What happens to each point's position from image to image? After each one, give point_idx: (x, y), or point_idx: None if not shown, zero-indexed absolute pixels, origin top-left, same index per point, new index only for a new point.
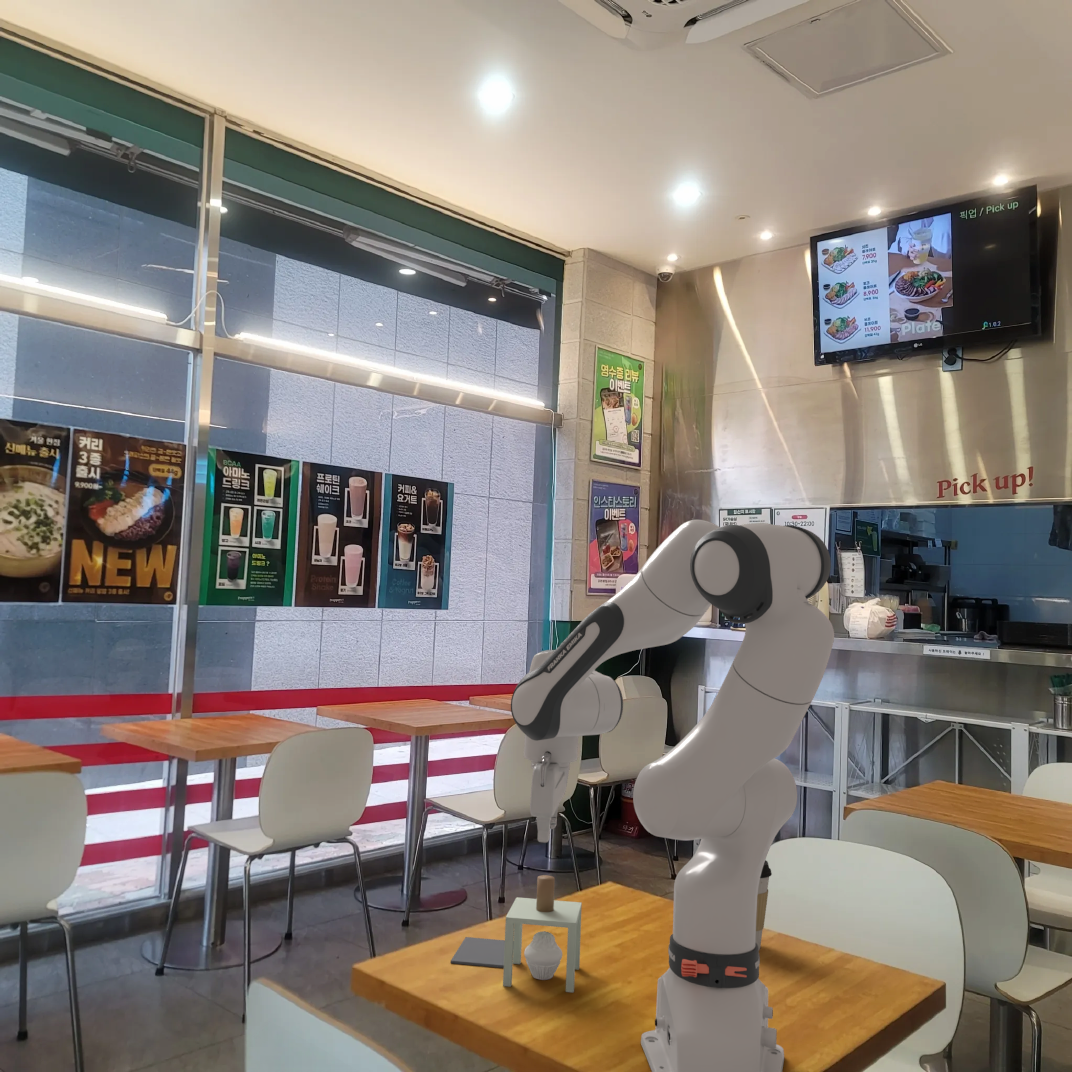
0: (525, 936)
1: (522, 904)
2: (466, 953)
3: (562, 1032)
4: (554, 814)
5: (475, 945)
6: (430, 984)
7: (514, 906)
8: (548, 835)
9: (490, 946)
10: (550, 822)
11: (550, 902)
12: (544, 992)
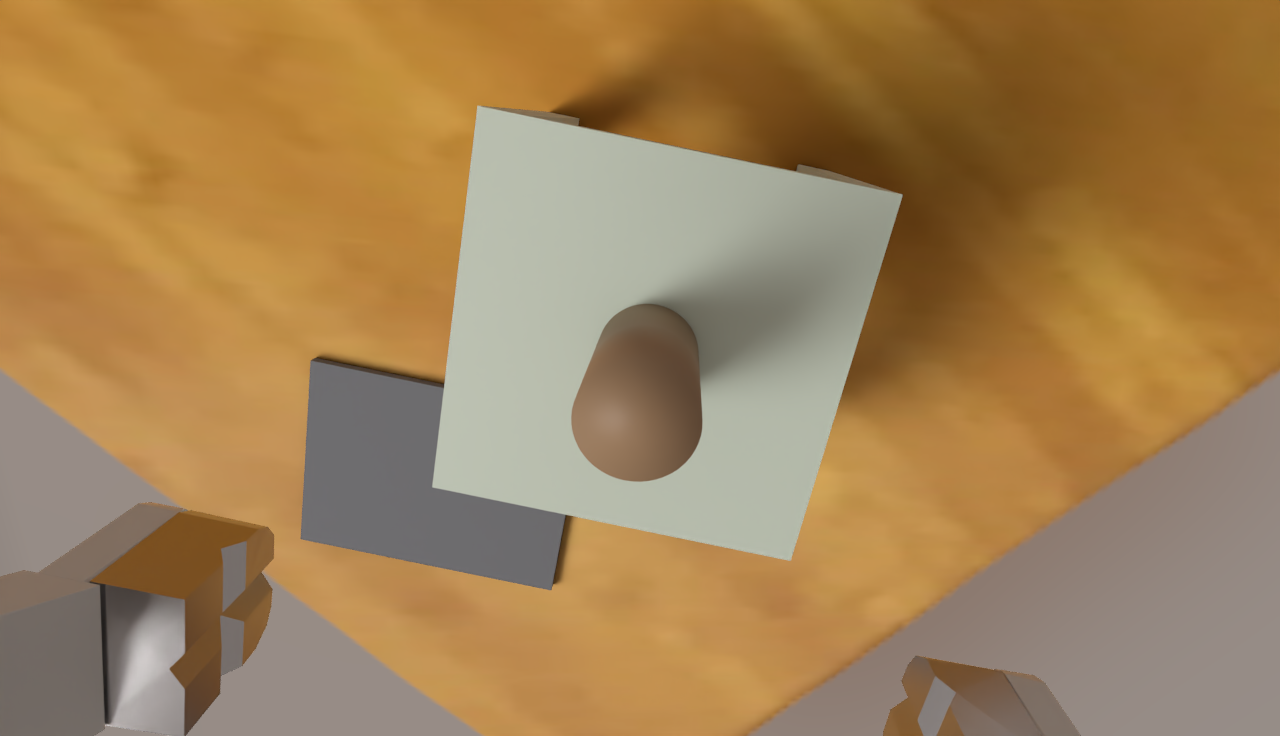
0: (218, 312)
1: (561, 465)
2: (475, 540)
3: (1185, 251)
4: (43, 635)
5: (386, 508)
6: (741, 641)
7: (603, 508)
8: (1074, 733)
9: (388, 457)
10: (217, 622)
11: (692, 342)
12: None
